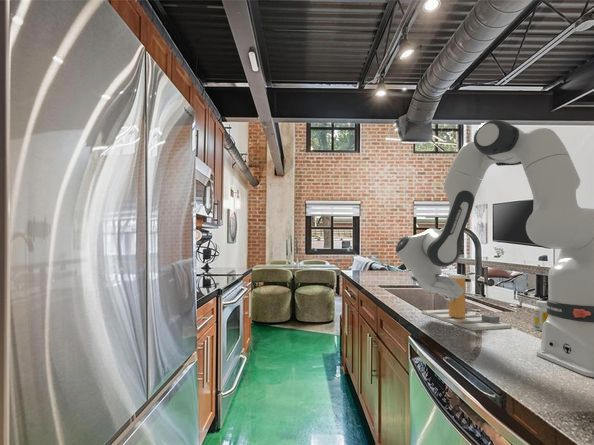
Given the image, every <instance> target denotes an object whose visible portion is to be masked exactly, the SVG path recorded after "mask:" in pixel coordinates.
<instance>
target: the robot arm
mask: <svg viewBox="0 0 594 445" xmlns="http://www.w3.org/2000/svg"><path fill="white" fill-rule="evenodd" d="M494 164H495V165H496V166H499V167H500V166H519V165H522V168H523V171H524V174H525V176H526V178H527V181H528V184H529V188H530V190H531V193H532V200H533V205H532V206H533V208H532V209H533V210H532V213H531V214H529V217H528V218H527V220H526V222H525V231H526V234H527V236H528V239H529V240H530V241H531V242H532V243H534V244H535V245H538V246H541V247H544V248H548V249H552V250H560V252H559V255H558V257H557V260H556V262H555V263H554V264H553V265H552V266H551V267H550V269H549V270H548V272H547V283H548V284H547V286H548V287H547V288H548V289H547V290H548V292H547V293H548V294H547V295H548V299H546V301H547V304H546V308H547V313H548V317H547V319H546V321H545V322H544V323H543V327H542V331H541V341H540V349H538V350H536V354H535V355H536V356H538V357H539V358H542V359H545V360H547V361H550V362H552V363H554V364H557V365H559V366H561V367H564V368H566V369H569V370H571V371H574V372H576V373H578V374H581V375H583V376H586V377H591V378H594V208H589V207H588V208H584V207H580V206H579V204H578V200H577V190H578V189H579V187H580V185H581V179H580V176H579V174H578V171H577V169H576V167H575V164H574V163H573V160H572V158H571V155H570V153H569V151H568V150H567V147H566V146H565V144H564V142H563V141H562V140H561V138H560V137H559V136H558V134H557V133H556V132H555V131H554V130H553V129H551V128H546V127H540V128H535V129H532V130H530V131H528V132H524V131H522V130H521V129H520V128H518V127H517V126H515V125H514V124H510V123H509V122H507V121H504V120H500V119H490V120H487V121H484V122H483V123H481V124H480V125H479V126H478V127H477V128H476V130H475V133H474V135H473V141H470V142H466V143H464V144H463V145H462V146H461V148H460V149H459V151H458V152H457V153H456V155H455V157H454V159H453V161H452V162H451V164H450V166H449V169H448V172H447V174H446V176H445V180H444V184H443V190H444V192H445V194H446V197H447V199H448V204H449V210H448V214H447V217H446V219H445V222H444V225H443V228H442V230H440V229H439V228H435V227H433V228H427V229H426V230H424V231H422V232H421V233H417V234H414V235H406V236H403V237H402V238H401V239H400V240H399V241H398V242H397V244H396V246H395V253H396V255H397V257H398V258H399V260H400V262H402V263H403V265H404V266H405V267H406V268H407V269H408V270H410V272H411V274H410V276H409V277H410V279H411V280H412V281H413V282H415V283H416V284H417V285H418V286H419V288H421V289H423V290H424V291H425V292H430V293H431V292H432V293H435V294H439V295H440V296H441V297H442V298H444V300H446V301H447V302H449V301H454V299H455V298H454V297H456V298H459V297H460V296H461V295H462V294H463V292H464V290H463V288H462V287H461V286H460V285H459V284H458V283H457V282H456V281H455V280H454V279H453V278H451V277H449V276H448V275H442V274H443V273H442V269H441V268H444V267H445V268H446V267H449V266H452V265H453V264H455V263H456V262H457V261H458V260H459V258H460V254H461V244H462V240H463V235H464V233H465V230H466V227H467V224H468V222H469V220H470V217H471V213H472V212H473V211H472V210H473V207H474V204H475V200H476V195H477V193H478V190H479V188H480V186H481V184H482V181H483V179H484V176H485V175H486V173H487V170H488V169H489V168H490V166H492V165H494Z"/></svg>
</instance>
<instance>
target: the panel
mask: <svg viewBox="0 0 594 445" xmlns="http://www.w3.org/2000/svg"><path fill="white" fill-rule="evenodd" d="M423 313H424V315H426V314H427V316H429V315H430V317H432V316H433V318H436V319H438V320H441V321H444V322H447V323H449V324H453V325H456V326H458V327H461V328H465V329H467V330H470V331H485V330H501V329H511V328H512V325H511V324H509V323H505V322H501V321H500V316H498V315H494V314H481V315H479V314H473V313H470V312H468V308H467V307H465V317H463V318H455V317H452V316H449V308H448V309H430V310H429V309H427V310H421V314H423Z"/></svg>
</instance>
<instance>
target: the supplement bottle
mask: <svg viewBox="0 0 594 445" xmlns="http://www.w3.org/2000/svg"><path fill="white" fill-rule="evenodd" d="M535 304H536V305H535V307H534V308H533V327H534V330H535V331H538V332H542V327H543V323H544V322H545V321H546V319H547V317H548V313H547V308H546V304H547V300H536V302H535Z"/></svg>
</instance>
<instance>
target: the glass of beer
mask: <svg viewBox="0 0 594 445" xmlns="http://www.w3.org/2000/svg"><path fill="white" fill-rule="evenodd" d="M447 276H449V277H451V278H453V279H454V280H455V281H456V282H457V283H458V284H459V285H460V286H461V287H462V288H463V290H464V292H463V294H462V295H461V296H460V297H459V298H456V297H454V298H455V299H454V301H448V309H449V316H452V317H455V318H463V317H465V308H466V275H465V274H459V273H453V274H452V273H449V274H448V275H447Z"/></svg>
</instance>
